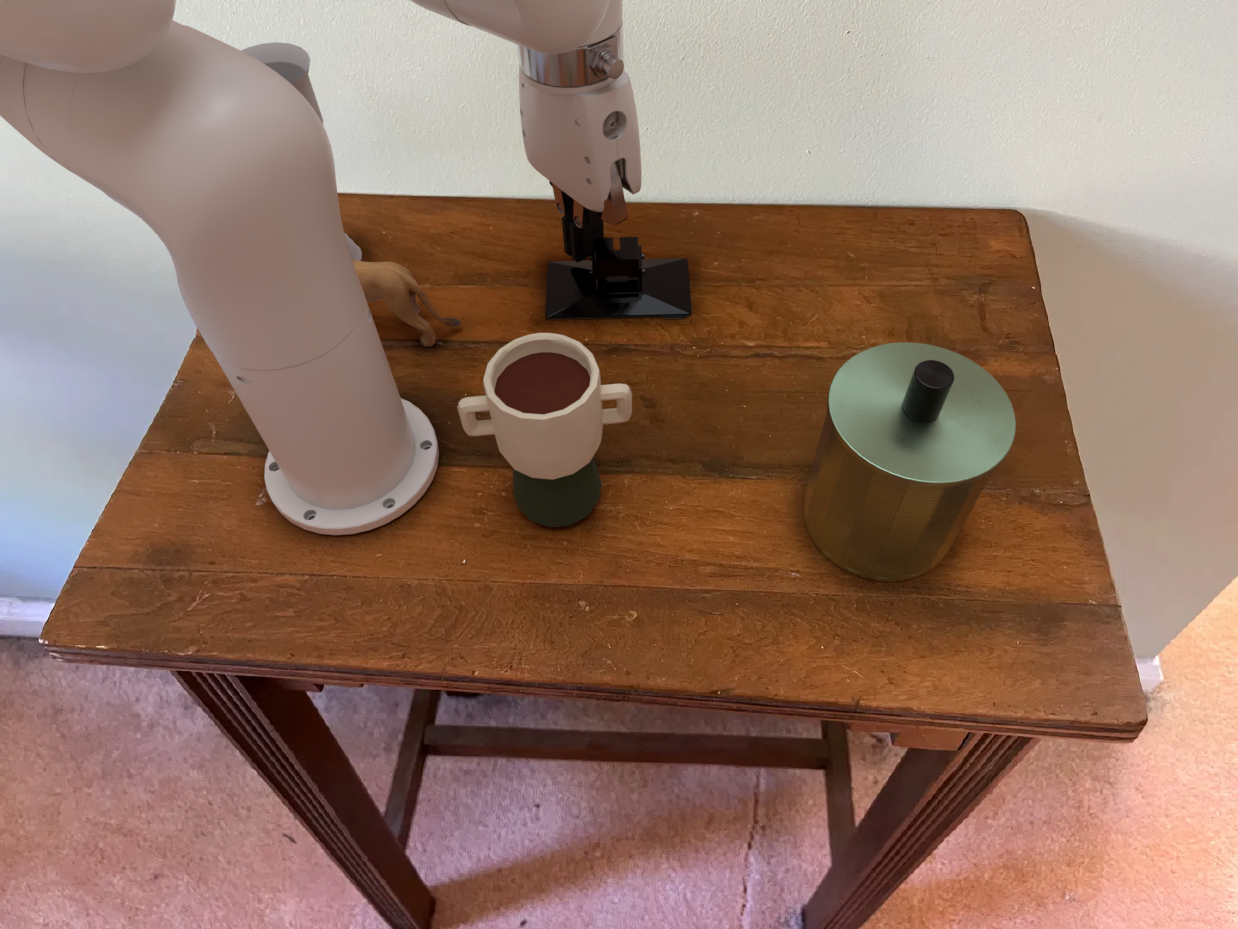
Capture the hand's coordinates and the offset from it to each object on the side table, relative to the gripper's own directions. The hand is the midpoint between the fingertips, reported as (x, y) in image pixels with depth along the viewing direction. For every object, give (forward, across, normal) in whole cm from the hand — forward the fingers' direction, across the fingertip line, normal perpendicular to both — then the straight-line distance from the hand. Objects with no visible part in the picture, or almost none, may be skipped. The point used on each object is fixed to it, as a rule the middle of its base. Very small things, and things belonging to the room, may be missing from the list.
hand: (584, 250), depth 76 cm
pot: (+2, -34, +1) cm, 34 cm away
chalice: (+2, +16, +17) cm, 23 cm away
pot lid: (-10, -34, +1) cm, 36 cm away
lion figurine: (+2, +6, +19) cm, 20 cm away
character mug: (+2, -18, +17) cm, 25 cm away
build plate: (+2, -4, 0) cm, 5 cm away
